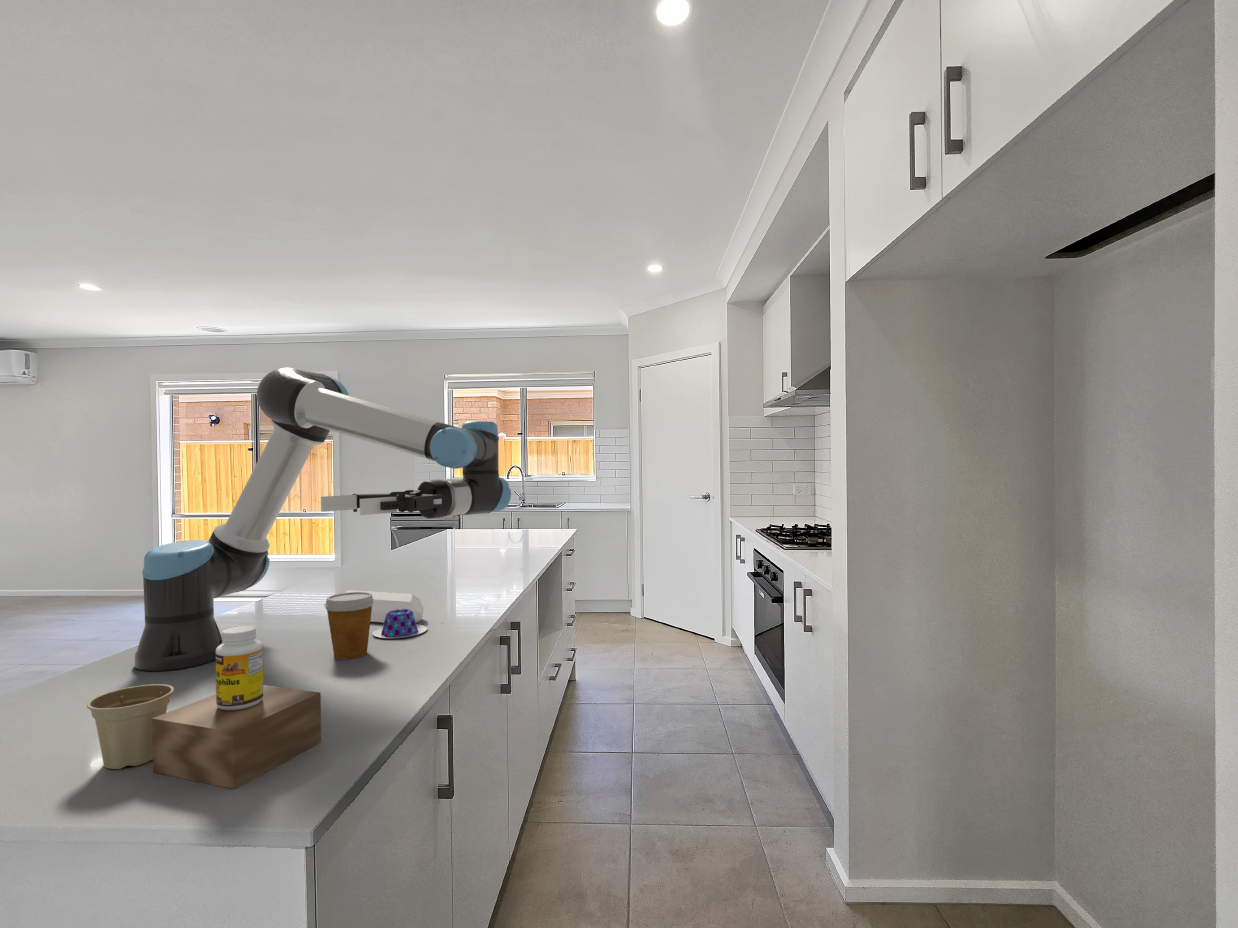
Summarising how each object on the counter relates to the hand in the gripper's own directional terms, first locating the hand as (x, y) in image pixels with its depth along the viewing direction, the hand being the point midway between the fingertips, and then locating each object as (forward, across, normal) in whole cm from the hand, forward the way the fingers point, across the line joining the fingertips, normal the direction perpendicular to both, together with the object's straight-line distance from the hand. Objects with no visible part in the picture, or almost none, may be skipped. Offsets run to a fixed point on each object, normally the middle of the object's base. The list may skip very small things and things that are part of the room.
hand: (340, 505), depth 115 cm
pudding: (-26, +24, -32) cm, 48 cm away
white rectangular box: (-30, +40, -32) cm, 59 cm away
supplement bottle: (+22, -14, -25) cm, 37 cm away
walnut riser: (+22, -15, -32) cm, 42 cm away
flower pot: (+32, -4, -32) cm, 45 cm away
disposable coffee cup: (-11, +18, -32) cm, 38 cm away
